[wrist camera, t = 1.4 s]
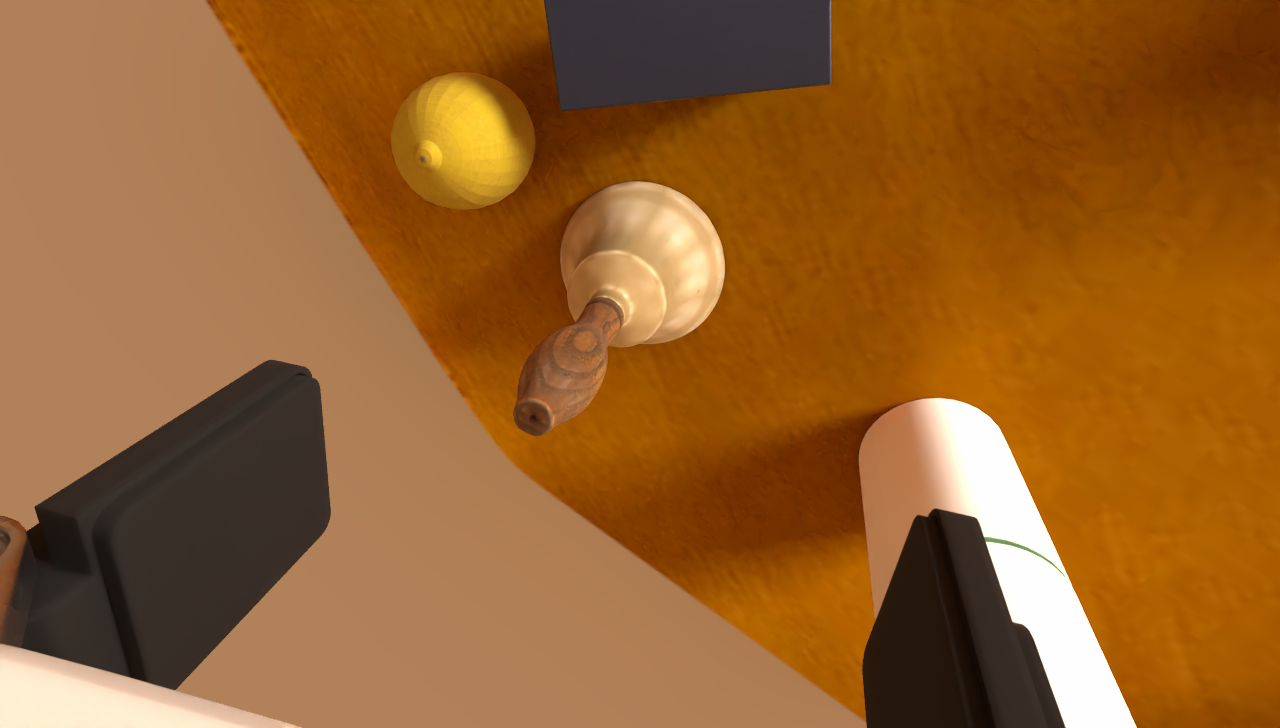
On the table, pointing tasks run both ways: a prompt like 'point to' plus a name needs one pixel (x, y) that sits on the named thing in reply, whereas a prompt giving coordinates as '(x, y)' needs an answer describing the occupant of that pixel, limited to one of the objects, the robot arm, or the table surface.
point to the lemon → (463, 141)
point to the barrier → (685, 48)
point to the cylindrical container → (1013, 530)
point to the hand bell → (620, 293)
